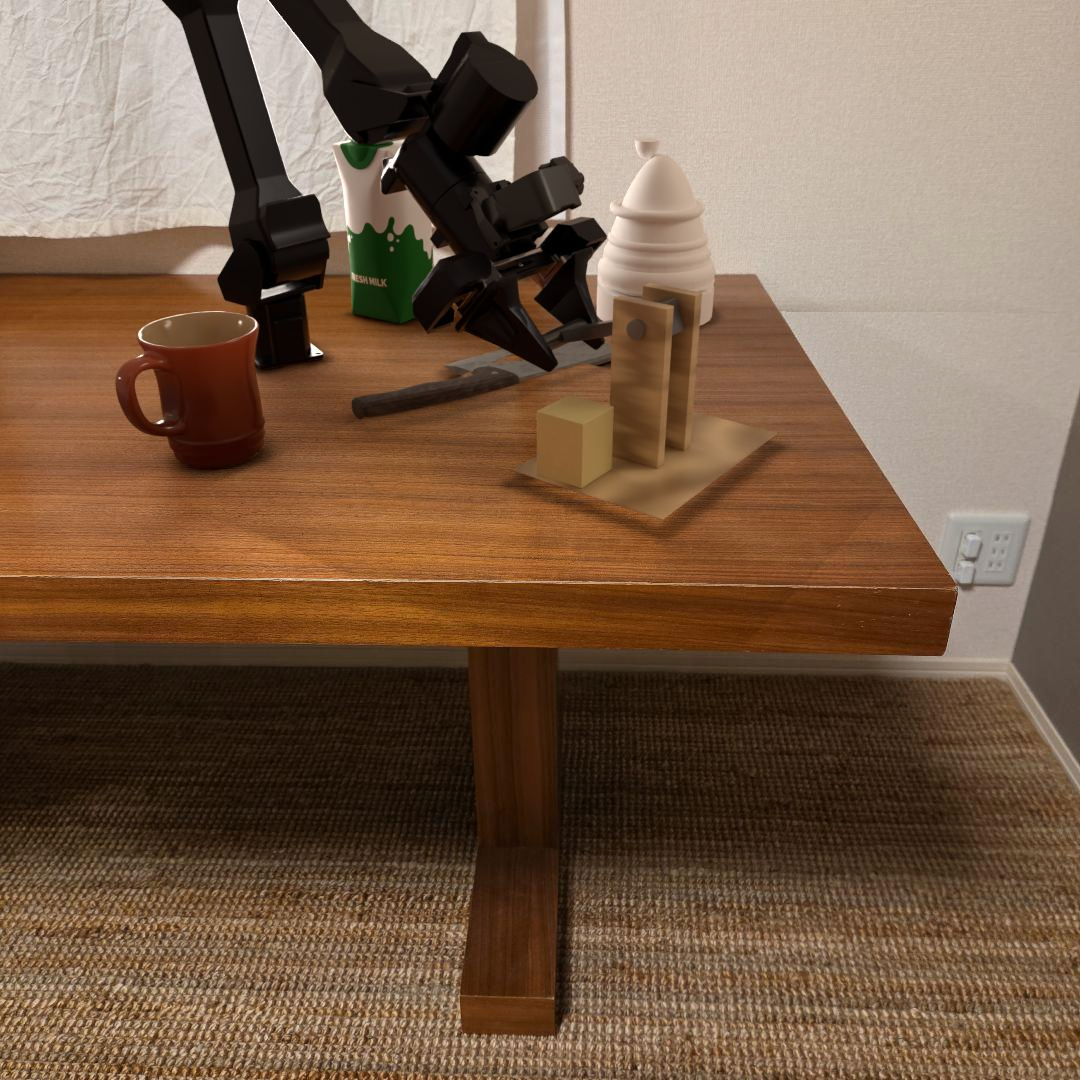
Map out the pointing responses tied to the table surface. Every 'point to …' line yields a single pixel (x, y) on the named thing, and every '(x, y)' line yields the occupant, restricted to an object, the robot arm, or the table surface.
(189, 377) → the mug
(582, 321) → the dark grey t-shaped bar
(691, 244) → the honey pot
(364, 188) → the milk carton
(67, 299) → the table surface
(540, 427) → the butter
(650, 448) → the wooden stand
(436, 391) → the cleaver
